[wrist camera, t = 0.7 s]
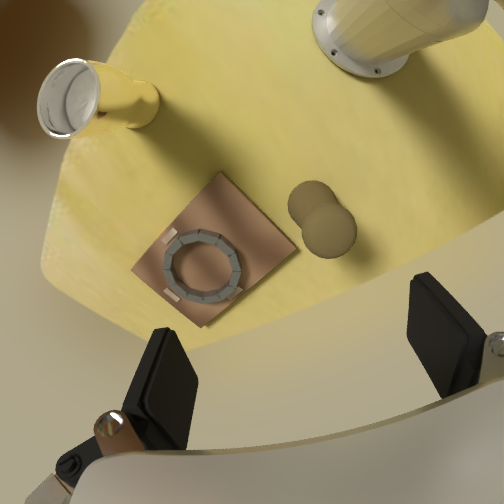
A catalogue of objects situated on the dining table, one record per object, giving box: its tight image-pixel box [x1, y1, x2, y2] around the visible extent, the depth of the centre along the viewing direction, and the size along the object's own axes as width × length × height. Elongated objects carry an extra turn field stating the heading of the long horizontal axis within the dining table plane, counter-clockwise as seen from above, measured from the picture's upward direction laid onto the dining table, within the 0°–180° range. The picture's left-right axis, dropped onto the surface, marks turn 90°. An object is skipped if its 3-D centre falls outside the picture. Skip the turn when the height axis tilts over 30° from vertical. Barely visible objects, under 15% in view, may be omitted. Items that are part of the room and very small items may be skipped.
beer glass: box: [37, 59, 160, 139], centre depth 23 cm, size 7×7×15 cm
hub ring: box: [162, 228, 242, 304], centre depth 37 cm, size 10×10×2 cm
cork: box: [288, 181, 357, 259], centre depth 30 cm, size 6×6×11 cm
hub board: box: [131, 172, 296, 328], centre depth 37 cm, size 18×13×1 cm
